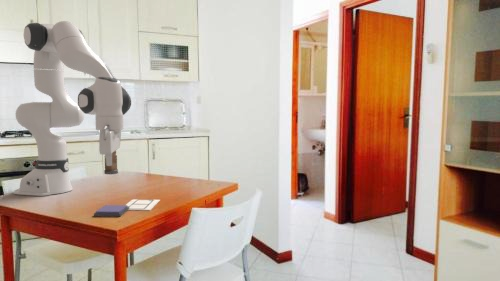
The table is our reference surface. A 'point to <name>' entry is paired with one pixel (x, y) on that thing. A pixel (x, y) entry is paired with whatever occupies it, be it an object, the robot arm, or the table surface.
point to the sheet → (141, 204)
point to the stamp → (113, 167)
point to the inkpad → (111, 211)
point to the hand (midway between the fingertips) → (110, 164)
